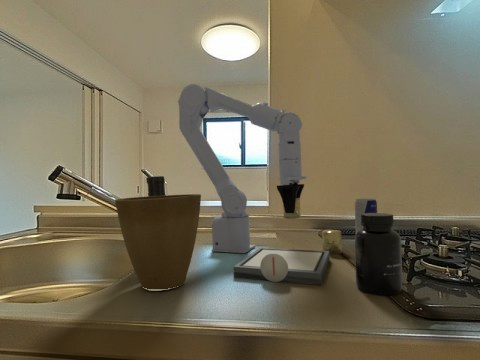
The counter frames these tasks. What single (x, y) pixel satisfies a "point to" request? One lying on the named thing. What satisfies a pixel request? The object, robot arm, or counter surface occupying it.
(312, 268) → the pan
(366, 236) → the supplement bottle
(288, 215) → the cylinder
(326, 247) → the cylinder
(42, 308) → the counter surface
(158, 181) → the sauce bottle
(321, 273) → the scale
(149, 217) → the plant pot
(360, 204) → the energy drink
